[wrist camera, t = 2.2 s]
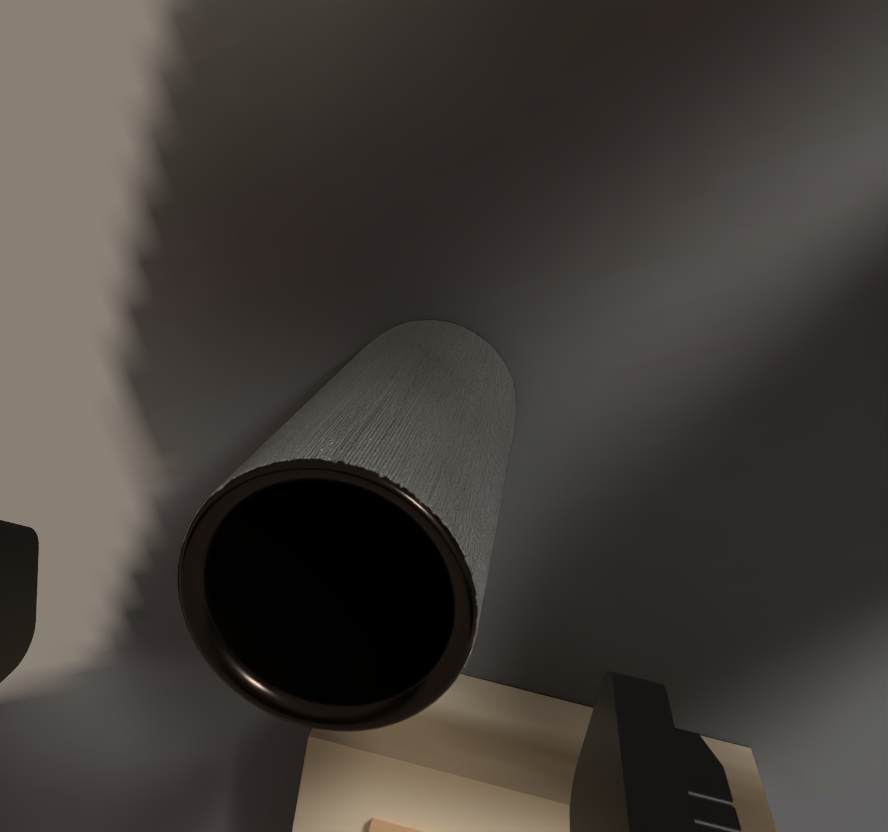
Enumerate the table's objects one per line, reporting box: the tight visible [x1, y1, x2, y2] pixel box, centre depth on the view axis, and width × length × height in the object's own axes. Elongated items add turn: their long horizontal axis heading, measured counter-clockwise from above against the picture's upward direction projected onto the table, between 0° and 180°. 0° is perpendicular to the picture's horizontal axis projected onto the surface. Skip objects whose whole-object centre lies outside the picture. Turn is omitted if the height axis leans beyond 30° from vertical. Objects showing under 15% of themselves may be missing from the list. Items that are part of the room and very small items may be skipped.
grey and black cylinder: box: [178, 320, 516, 732], centre depth 17 cm, size 4×4×10 cm
